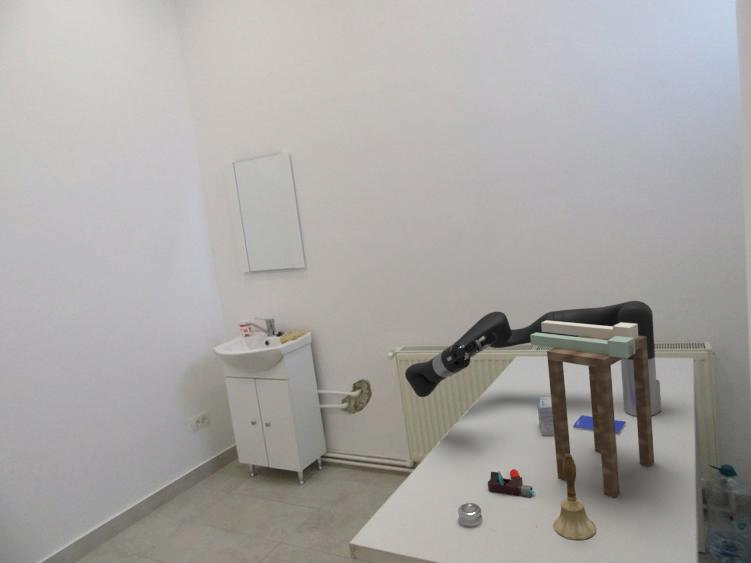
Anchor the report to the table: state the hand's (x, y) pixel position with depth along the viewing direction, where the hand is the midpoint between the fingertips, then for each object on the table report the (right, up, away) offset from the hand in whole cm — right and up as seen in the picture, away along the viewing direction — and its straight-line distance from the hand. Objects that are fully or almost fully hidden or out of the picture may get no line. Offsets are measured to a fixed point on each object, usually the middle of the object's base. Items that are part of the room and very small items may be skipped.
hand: (486, 339), depth 143 cm
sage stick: (+17, 0, -21) cm, 27 cm away
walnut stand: (+26, -30, -14) cm, 43 cm away
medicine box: (+21, -28, +11) cm, 37 cm away
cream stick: (+23, +2, -10) cm, 25 cm away
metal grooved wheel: (-9, -37, -27) cm, 47 cm away
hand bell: (+11, -35, -34) cm, 50 cm away
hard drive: (+35, -27, +9) cm, 45 cm away
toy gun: (+3, -34, -16) cm, 38 cm away
